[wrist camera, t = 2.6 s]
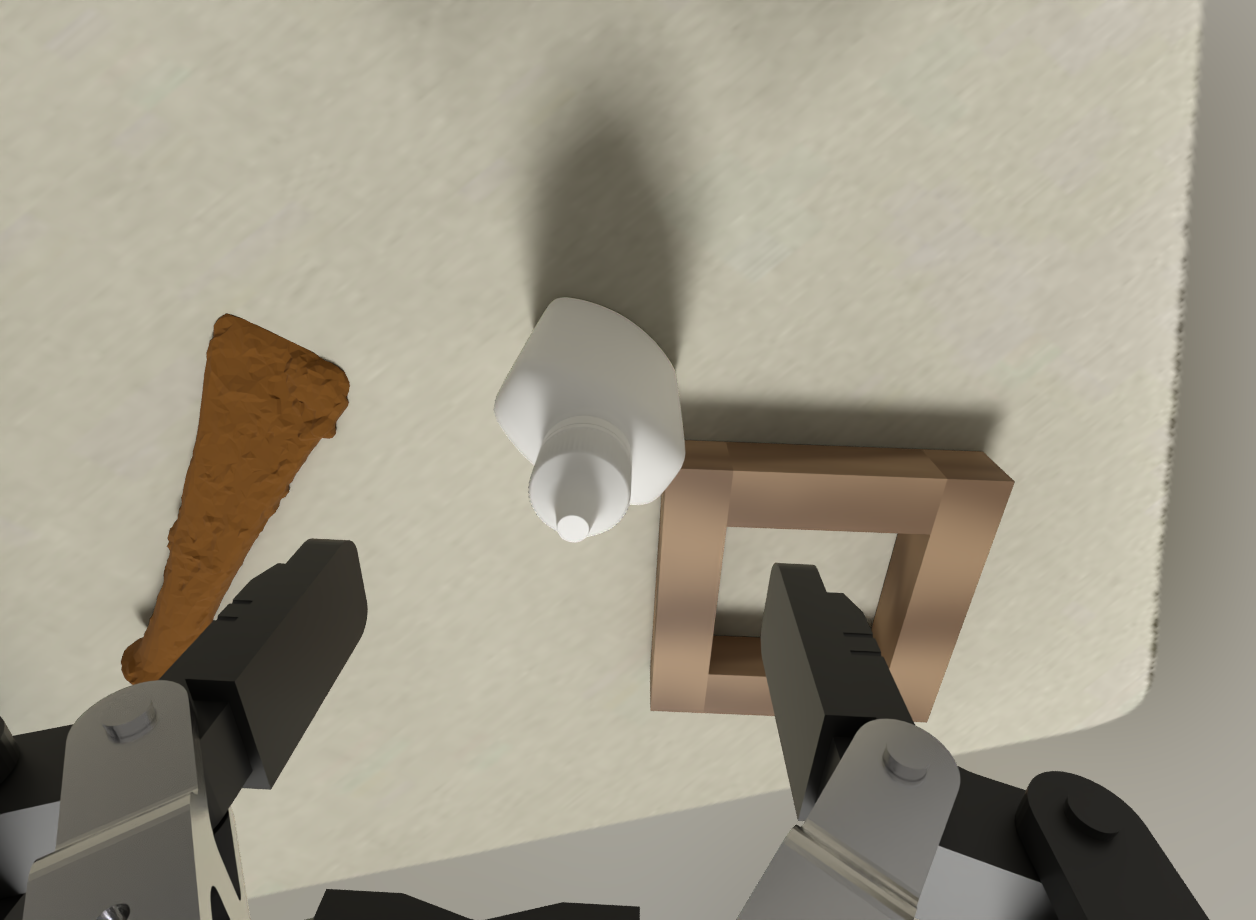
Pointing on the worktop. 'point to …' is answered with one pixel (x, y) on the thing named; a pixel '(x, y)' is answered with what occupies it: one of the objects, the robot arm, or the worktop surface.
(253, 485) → the primitive tool
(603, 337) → the eye dropper bottle
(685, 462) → the walnut collar
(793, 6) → the worktop surface
